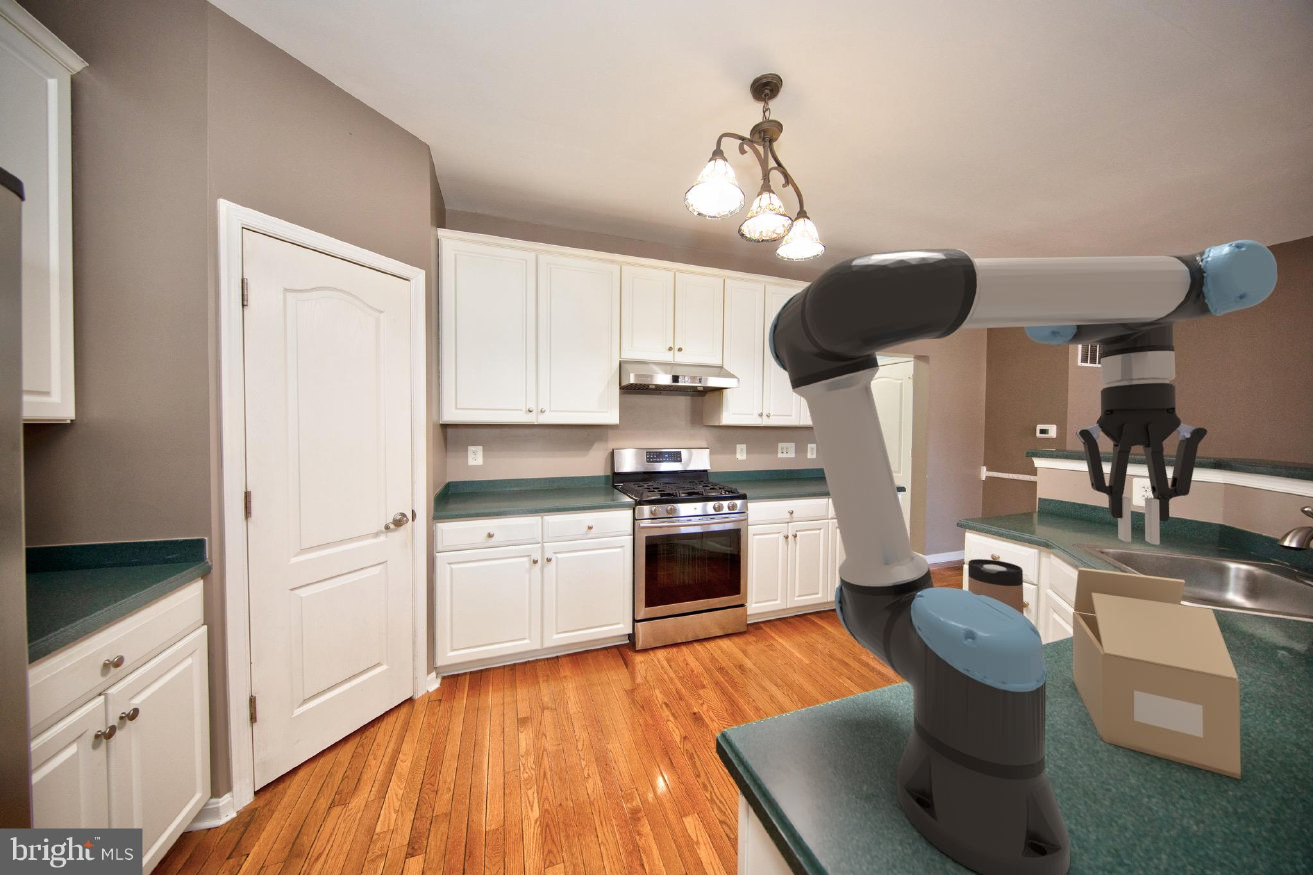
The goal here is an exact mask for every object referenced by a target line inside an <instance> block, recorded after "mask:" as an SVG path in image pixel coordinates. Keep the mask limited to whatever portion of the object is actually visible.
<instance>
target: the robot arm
mask: <svg viewBox="0 0 1313 875" xmlns="http://www.w3.org/2000/svg"><path fill="white" fill-rule="evenodd" d="M1278 279H1279V278H1278V264H1277V261H1276V258H1275V255H1274V254H1273V253H1272V251H1271V250H1270V249H1269V248H1268V247H1267V246H1266V245H1264V244H1263V243H1260V242H1258V241H1255V240H1252V239H1241V240H1240V239H1239V240H1235V241H1231V242H1229V243H1225V244H1221V245H1218V246H1217V245H1213V246H1210V247H1208V248H1206V249H1204V250H1201V251H1199V252H1196V253H1190V254H1182V255H1181V254H1180V255H1179V254H1178V255H1155V256H1154V255H1147V256H1146V255H1145V256H1144V255H1142V256H1141V255H1140V256H1139V255H1137V256H1134V255H1133V256H1132V255H1131V256H1128V255H1127V256H1125V255H1124V256H1075V257H1073V256H1071V257H1069V256H1067V257H1066V256H1064V257H1062V256H1059V257H1058V256H1057V257H1052V256H1051V257H997V258H996V257H991V258H988V257H987V258H986V257H985V258H984V257H983V258H982V257H981V258H979V257H978V258H973V257H972V255H971V254H969V253H968V252H967V251H965V250H964V249H961V248H921V249H901V250H891V251H881V252H874V253H869V254H862V255H857V256H854V257H851V258H847V259H845V260H843V261H839V262H838V263H835V264H834V265H831V267H829V268H827V269H826V270H825V271H824V272H822V273H821V274H820V275H819V276H818V277H817V278H816V279H815V280H813V281H812V282H811V283H810V284H808V285H807V286H805V287H804V288H803V289H802V290H800V291H799V292H797V293H795V294H793V296H791V297H790V298H788V300H787V301H786V302H785V303H784V304H783V305H782V306H781V308H780V309H779V311H777V313H776V314H775V316H774V318H773V320H772V322H771V325H770V327H769V332H768V348H769V352H770V354H771V357H772V358H773V360H774V362H775V363H776V364H777V366H779V368H780V369H782V370H783V371H785V372H786V373H787V375H788V379H789V382H790V386H791V389H792V392H793V393H795V394H796V395H797V396H800V397H802V398H803V399H804V400H805V401H806V404H807V407H808V413H809V416H810V420H811V424H812V428H813V433H814V436H815V439H816V443H817V444H816V445H817V447H818V452H819V456H820V459H821V463H822V468H823V471H824V475H825V478H826V479H825V480H826V483H827V486H828V492H829V494H830V499H831V502H832V506H833V511H834V515H835V519H836V523H837V527H838V530H839V534H840V539H841V543H842V546H843V547H842V548H843V550H844V554H845V559H844V560H843V561H842V562H841V563H840V565H839V567H838V576H839V584H838V586H836V588H835V592H834V606H835V611H836V614H837V617H838V619H839V621H840V623H841V624H842V626H843V628H844V629H845V630H846V631H847V632H848V634H849V636H851V637H852V638H853V639H854V640H855V641H856V643H857V644H859V645H860V646H861V647H862V648H863V649H866V650H867V651H869V652H870V653H871V654H872V655H874V656H875V657H876V658H877V659H878V660H880V661H881V662H882V663H883V664H885V665H886V666H887V667H889V668H890V670H892V671H894V673H896V674H897V675H898V676H899V677H901V678H902V679H903V680H905V682H906V683H908V684H909V685H910V686H911V687H912V690H913V694H912V695H913V700H912V701H913V728H912V730H911V733H910V736H909V738H908V741H907V743H906V746H905V748H904V751H903V753H902V755H901V758H900V760H899V763H898V766H897V770H896V771H897V772H896V792H897V798H898V802H899V804H900V807H901V809H902V811H903V813H904V814H905V816H906V817H907V819H908V821H909V822H910V823H911V824H912V825H913V826H914V828H915V829H916V830H917V831H918V832H919V833H920V834H921V835H922V836H923V837H925V839H926V840H927V841H928V842H929V843H930V844H932V845H933V846H934V847H936V848H937V849H938V850H939V851H941V852H942V853H943V854H945V855H946V856H948V857H949V858H951V859H953V860H955V861H956V862H958V863H959V864H961V865H963V866H964V867H966V868H969V869H970V870H972V871H975V872H977V873H978V874H981V875H1067V873H1068V872H1069V869H1070V866H1071V863H1070V862H1071V856H1070V855H1071V854H1070V853H1071V852H1070V851H1071V850H1070V849H1071V848H1070V847H1071V846H1070V845H1071V844H1070V837H1069V836H1070V835H1069V832H1068V829H1067V826H1066V822H1065V820H1064V817H1063V814H1062V812H1061V810H1060V807H1059V804H1058V802H1057V798H1056V797H1055V794H1054V791H1053V789H1052V786H1051V783H1050V781H1049V778H1048V775H1047V773H1046V753H1045V752H1046V697H1047V696H1046V695H1047V694H1046V693H1047V692H1046V682H1047V681H1046V679H1047V673H1048V672H1047V663H1046V660H1045V658H1044V648H1043V640H1042V636H1041V634H1040V632H1039V630H1038V628H1037V627H1036V625H1035V624H1034V623H1033V622H1032V621H1031V620H1030V619H1029V618H1028V617H1027V616H1025V614H1024V615H1023V614H1022V613H1020V612H1019V611H1017V610H1015V609H1014V608H1012V607H1010V606H1008V605H1006V604H1004V603H1002V602H1000V601H998V600H996V599H993V598H990V597H988V596H985V595H976V594H973V593H972V592H970V591H968V590H967V589H962V588H961V589H960V588H955V587H939V586H938V587H935V586H934V581H933V578H932V573H931V569H930V565H929V562H928V561H927V560H926V558H924V557H923V556H921V555H920V554H918V553H916V552H914V551H913V549H912V545H911V541H910V537H909V533H908V530H907V525H906V521H905V517H904V512H903V510H902V506H901V502H900V501H901V500H900V497H899V494H898V493H899V492H898V490H897V484H896V481H895V478H894V477H895V476H894V474H893V470H892V465H891V462H890V457H889V453H888V450H887V445H886V442H885V438H884V434H883V430H882V426H881V422H880V417H879V414H878V410H877V406H876V401H875V399H874V398H875V397H874V394H873V390H872V387H871V386H872V381H873V380H874V378H875V377H876V375H877V374H878V372H879V370H880V366H879V362H878V358H877V354H876V353H877V352H880V351H883V350H886V349H887V350H888V349H889V348H893V347H897V346H900V345H903V344H908V343H911V342H916V341H922V340H938V339H939V340H940V339H946V338H949V337H951V336H953V335H955V334H956V333H958V332H959V331H960V330H966V329H968V330H969V329H989V328H991V329H993V328H994V329H995V328H1015V327H1017V328H1019V327H1021V328H1023V327H1024V331H1025V333H1026V335H1027V337H1028V338H1029V339H1031V341H1034V342H1036V343H1038V344H1046V345H1054V346H1061V345H1064V346H1065V345H1066V346H1067V345H1069V346H1070V345H1077V346H1078V345H1082V346H1087V345H1093V346H1095V345H1096V346H1100V347H1099V348H1100V352H1099V353H1100V384H1102V385H1105V387H1103V388H1102V390H1100V416H1099V418H1098V419H1097V420H1096V423H1095V424H1094V425H1092V426H1088V427H1087V428H1084V429H1083V428H1082V429H1078V430H1077V431H1076V432H1075V435H1076V436H1077V437H1078V439H1079V440H1080V442H1081V443H1082V445H1083V449H1084V454H1085V455H1084V456H1085V461H1086V466H1087V470H1088V475H1089V480H1090V487H1091V489H1092V490H1093V491H1096V492H1099V493H1102V494H1105V495H1106V496H1107V497H1108V514H1109V517H1111V518H1112V519H1117V526H1118V527H1117V528H1118V529H1117V533H1118V536H1117V537H1118V540H1120V541H1123V542H1125V543H1132V517H1131V516H1132V508H1131V507H1132V504H1131V503H1132V502H1131V501H1132V500H1131V499H1132V498H1130V497H1128V496H1124V495H1125V494H1124V493H1125V485H1126V480H1127V473H1128V465H1129V459H1130V453H1131V451H1132V447H1135V446H1139V447H1142V450H1143V453H1144V456H1145V460H1146V466H1147V471H1148V479H1149V483H1150V491H1151V495H1152V497H1144V521H1145V522H1144V528H1145V529H1144V532H1145V533H1144V534H1145V535H1144V537H1145V539H1144V540H1145V542H1147V543H1149V544H1151V545H1158V546H1159V545H1161V544H1160V543H1161V541H1160V540H1161V539H1160V535H1161V532H1160V522H1168V521H1169V520H1170V500H1171V499H1173V498H1176V497H1182V496H1183V497H1185V496H1188V495H1189V494H1190V490H1191V485H1192V480H1193V474H1194V469H1195V463H1196V459H1197V453H1198V447H1199V444H1200V443H1201V442H1202V440H1204V438H1205V436H1206V435H1207V434H1208V430H1207V429H1206V428H1205V427H1194V426H1191V425H1190V424H1186V423H1182V421H1181V418H1180V417H1179V416H1178V415H1177V410H1176V409H1177V408H1176V406H1177V405H1176V402H1177V401H1176V385H1174V384H1173V383H1170V381H1172V380H1174V379H1176V360H1175V359H1176V356H1175V345H1174V344H1175V343H1174V341H1175V324H1179V323H1180V324H1181V323H1185V322H1189V321H1194V320H1199V319H1204V318H1209V317H1215V316H1217V317H1219V316H1224V315H1225V314H1228V313H1231V312H1232V313H1233V312H1236V311H1239V310H1244V309H1248V308H1252V307H1254V306H1257V305H1259V304H1260V303H1262V302H1263V301H1265V300H1266V299H1268V297H1270V295H1271V294H1272V293H1273V291H1274V289H1275V288H1276V285H1277V282H1278ZM1175 431H1176V432H1177V434H1176V438H1177V439H1179V442H1178V444H1177V449H1176V452H1175V460H1174V464H1173V465H1174V466H1173V470H1172V474H1171V475H1172V476H1171V480H1170V486H1169V479H1168V474H1167V468H1166V462H1165V456H1164V449H1165V448H1164V441H1166V439H1168V438H1169V437H1170V436H1171V435H1172V434H1173V433H1174V432H1175ZM1100 432H1102V433H1103V434H1104V435H1105V436H1106V437H1107V438H1108V439H1109V440H1110V441H1111V442H1112V443H1113V444H1112V459H1111V465H1110V471H1109V478H1108V484H1106V479H1105V473H1104V469H1103V464H1102V459H1101V458H1102V457H1101V452H1100V448H1099V443H1098V442H1097V440H1099V439H1100Z"/></svg>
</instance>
